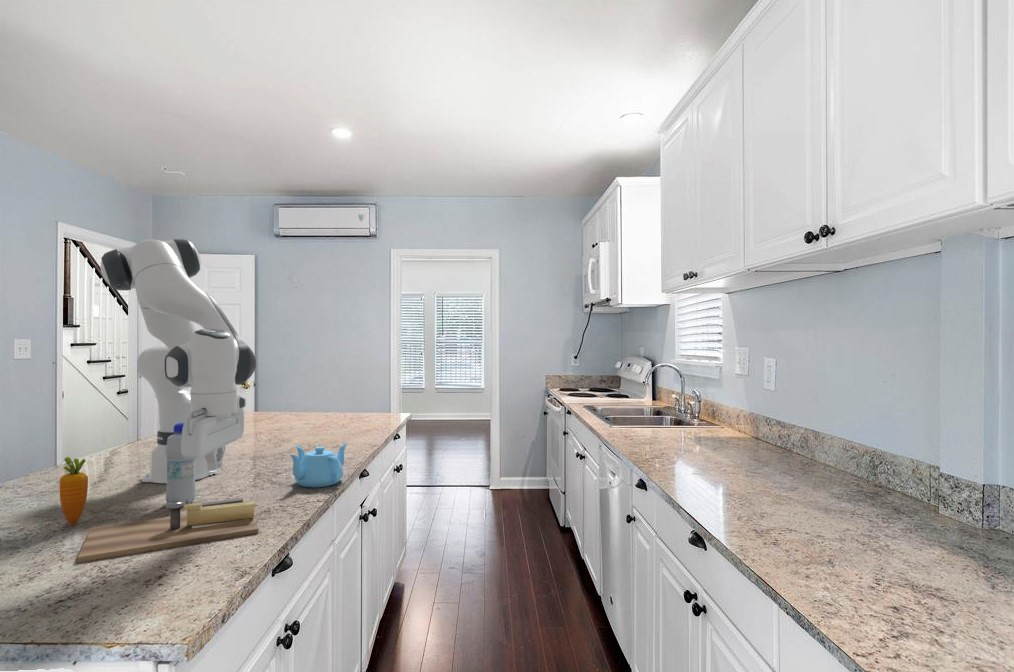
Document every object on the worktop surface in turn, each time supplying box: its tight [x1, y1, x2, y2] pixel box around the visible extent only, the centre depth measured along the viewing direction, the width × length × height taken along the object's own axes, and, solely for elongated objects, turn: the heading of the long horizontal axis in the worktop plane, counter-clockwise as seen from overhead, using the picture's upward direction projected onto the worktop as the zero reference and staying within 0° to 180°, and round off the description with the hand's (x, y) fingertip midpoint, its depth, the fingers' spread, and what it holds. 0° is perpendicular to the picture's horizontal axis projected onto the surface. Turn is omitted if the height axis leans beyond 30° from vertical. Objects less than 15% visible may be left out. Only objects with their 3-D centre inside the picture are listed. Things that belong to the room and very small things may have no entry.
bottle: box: [165, 423, 196, 504], centre depth 133 cm, size 7×7×20 cm
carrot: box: [58, 456, 89, 527], centre depth 117 cm, size 5×5×15 cm
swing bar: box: [165, 500, 255, 526], centre depth 116 cm, size 17×4×5 cm, turn 116°
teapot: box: [289, 442, 349, 488], centre depth 153 cm, size 15×15×10 cm
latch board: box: [77, 497, 260, 563], centre depth 113 cm, size 18×30×5 cm, turn 121°
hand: (215, 468), depth 115 cm, fingers closed
